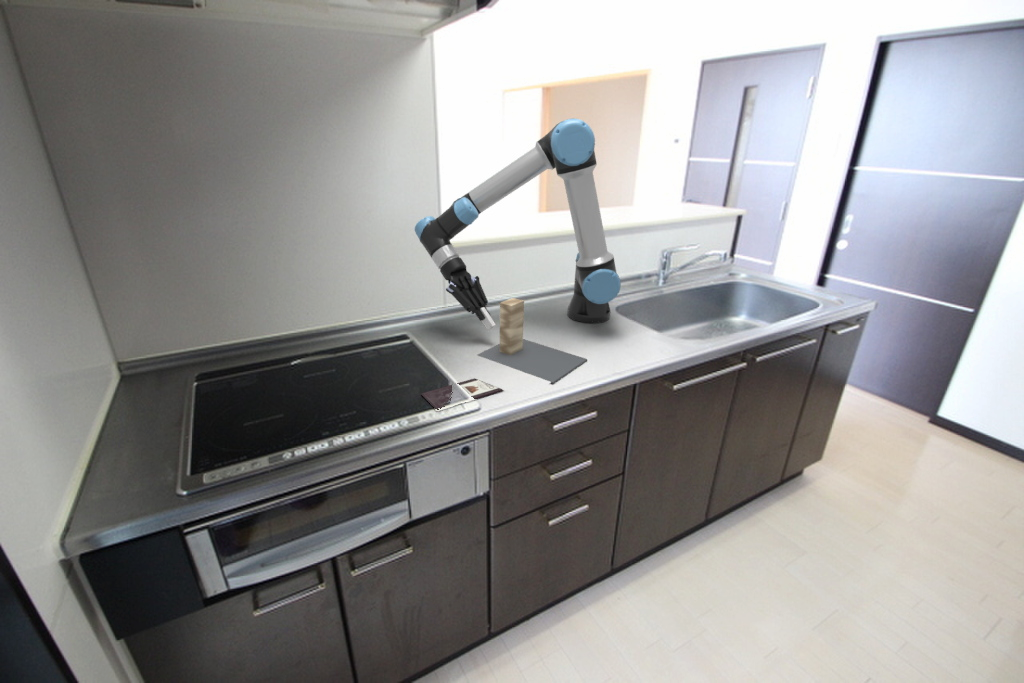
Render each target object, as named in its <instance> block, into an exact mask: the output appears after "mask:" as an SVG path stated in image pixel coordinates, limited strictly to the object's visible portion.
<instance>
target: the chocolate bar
mask: <svg viewBox="0 0 1024 683" xmlns="http://www.w3.org/2000/svg"><path fill="white" fill-rule="evenodd" d="M457 384H459V385H460V386H461V387H462V388H463V389H464V390H465V391H466V392H467V393H468V394H469V395H470V396H471V397H473V398H474V399H477V400H480V399H483V398H486V397H489V396H494V395H496V394H500V393H503V392H504V390H503V389H502V388H500V387H498V386H495V385H493V384H491V383H488V382H485V381H482V380H480V379H477V378H475V377H474V378H471V379H467V380H465V381H460V382H457ZM452 385H453V384H450V385H446V386H442V387H439V388H435V389H433V390H427V391H425V392H422V393H420V395H422V396H423V397H424V398H425V399H426V400H427V401H428V402H429V403H430V404H431V405H432V406H433V407H434V408H435V409H437V410H439V409H438V408H440V409H441V408H442V407H445V406H444V404H447V402H448V400H450V401H451V398H452V397H451V395H452V393H453V392H452ZM451 392H452V393H451ZM422 396H421V397H422ZM423 397H422V398H423ZM450 397H451V398H450ZM424 398H423V399H424ZM449 398H450V399H449ZM425 399H424V400H425ZM426 400H425V401H426ZM427 401H426V402H427ZM428 402H427V403H428ZM444 402H445V403H444ZM429 403H428V404H429ZM449 403H450V402H449ZM430 404H429V405H430ZM431 405H430V406H431ZM432 406H431V407H432ZM433 407H432V408H433Z"/></svg>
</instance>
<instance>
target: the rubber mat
mask: <svg viewBox="0 0 1024 683" xmlns="http://www.w3.org/2000/svg"><path fill="white" fill-rule="evenodd" d="M499 348H500V343H498V344H496V345H494V346H492V347H490V348H488V349H486V350H484V351H482V352H480V353H478V354H477V356H478V357H481V358H484V359H487V360H489V361H493V362H495V363H498V364H500V365H503V366H506V367H509V368H512V369H514V370H516V371H520V372H523V373H525V374H528V375H530V376H534V377H537V378H538V379H539V378H540V379H542V380H545V381H548V382H549V383H551V385H555V382H556V383H557V382H559V381H560V380H561V378H563V379H564V377H566V376H567V375H569V374H570V373H572V372H573V371H575V370H576V369H577V367H578V368H579V367H581V365H583V364H585V363H586V362H588V358H586V357H582V356H579V355H576V354H573V353H569V352H566V351H563V350H559V349H556V348H553V347H550V346H548V345H544V344H540V343H539V342H535V341H530V340H528V339H526V338H523V349H521V350H519V351H517V352H515V353H514V354H512V355H508V354H505V353H502V352H499ZM574 369H575V370H574ZM568 373H569V374H568ZM558 380H559V381H558Z"/></svg>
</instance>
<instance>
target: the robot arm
mask: <svg viewBox="0 0 1024 683" xmlns="http://www.w3.org/2000/svg"><path fill="white" fill-rule="evenodd" d="M595 142H596V138H595V134H594V130H593V129H592V128H591V127H590V125H589V124H588V123H587V122H586V121H584V120H582V119H579V118H568V119H565V120H562V121H560V122H559V123H557V124H555V126H554V127H553V128H552V129H551V130H550V131H549V132H548V133H547V134H545V135H544V136H543V137H541V138H540V139H538V140H537V141H536V142H535V145H534V147H533V148H531V149H530V150H529V151H527V152H526V153H524V154H523V155H521V156H520V157H518V158H517V159H515V160H514V161H512V162H511V163H509V164H508V165H507V166H505V167H503V168H502V169H501V170H499V171H498V172H496V173H495V174H493V175H492V176H491V177H489V178H487V179H486V180H484V181H483V182H481V183H480V184H479V185H477V186H475V187H474V188H473V189H471V190H470V191H468V192H467V193H465V194H464V195H462V196H461V197H459V198H457V199H455V201H453V202H452V204H451V205H450V206H449V208H447V209H446V210H445V211H443V213H441V214H440V215H439V216H438V217H437V218H435V217H434V216H432V215H429V216H426V217H424V218H421V219H420V220H418V221H417V223H416V224H415V225H414V232H415V234H416V236H417V238H418V240H419V242H420V243H421V244H422V246H423V247H424V248H425V251H427V253H428V255H429V256H430V258H431V260H432V261H433V262H434V264H435V266H436V267H437V268H438V270H440V271H439V272H440V273H441V275H442V277H443V278H444V280H445V281H447V282H448V286H447V287H446V288H445V291H446V292H447V293H449V294H451V295H452V297H453V298H454V299H455V300H456V301H457V302H458V303H459V304H460V305H461V306H462V308H464V310H466V311H467V313H471V314H472V315H474V314H475V315H476V317H477V319H478V320H479V321H481V322H482V324H483V325H484V327H485V328H486V330H487V331H489V330H492V329H493V328H494V327H495V326H496V323H495V322H494V319H493V317H492V316H491V313H490V312H489V310H488V309H487V307H486V306H488V304H489V301H488V298H487V296H486V294H485V291H484V288H483V287H482V285H481V282H480V277H479V276H478V275H476V276H472V275H471V273H470V272H468V270H467V265H466V264H465V262H464V261H463V258H461V257H460V254H459V253H458V251H457V250H456V249H455V247H454V245H453V244H452V242H451V240H453V239H454V238H455V237H456V236H457V235H458V234H460V233H461V232H462V231H463V230H465V229H466V228H467V227H469V226H470V225H472V224H473V223H474V222H475V221H476V220H477V219H478V218H479V215H480V214H481V213H483V212H484V211H486V210H487V209H489V208H490V207H492V206H493V205H495V204H497V203H498V202H500V201H501V200H502V199H504V198H506V197H507V196H509V195H511V194H512V193H514V192H515V191H516V190H518V189H520V188H521V187H523V186H524V185H526V184H527V183H529V182H530V181H532V180H533V179H535V178H536V177H537V176H539V175H541V174H542V173H544V172H545V171H547V170H551V171H552V170H554V169H555V171H556V174H557V177H559V178H561V179H562V180H563V183H564V188H565V194H566V197H567V198H566V199H567V202H568V207H569V211H570V216H571V221H572V226H573V231H574V235H575V239H576V247H577V250H578V252H577V254H576V259H575V274H574V286H573V294H572V297H571V299H570V302H569V305H568V307H567V313H566V315H567V317H568V316H569V317H568V318H570V319H571V320H573V321H576V320H577V322H581V323H586V324H587V323H588V324H599V323H603V322H607V321H608V320H610V318H611V308H610V302H612V301H613V300H614V299H615V298H617V297H618V294H619V293H620V290H621V286H622V285H621V278H620V277H619V274H618V273H617V268H616V263H615V262H616V261H615V257H614V254H613V253H611V252H609V251H608V246H607V242H606V236H605V229H604V226H603V221H602V214H601V209H600V205H599V204H600V203H599V199H598V193H597V186H596V182H595V178H594V170H595V168H596V167H597V159H596V153H595V146H596V143H595Z"/></svg>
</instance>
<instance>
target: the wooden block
mask: <svg viewBox="0 0 1024 683" xmlns="http://www.w3.org/2000/svg"><path fill="white" fill-rule="evenodd" d="M524 311H525V300H523V299H518V298H515V297H511V298H509V299H506V300H503V301H501V302H500V303H499V344H500V348H499V352H502V353H505V354H508V355H512V354H514V353H515V352H517V351H519V350H521V349H523V339H524V316H525V315H524V313H525V312H524Z"/></svg>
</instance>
